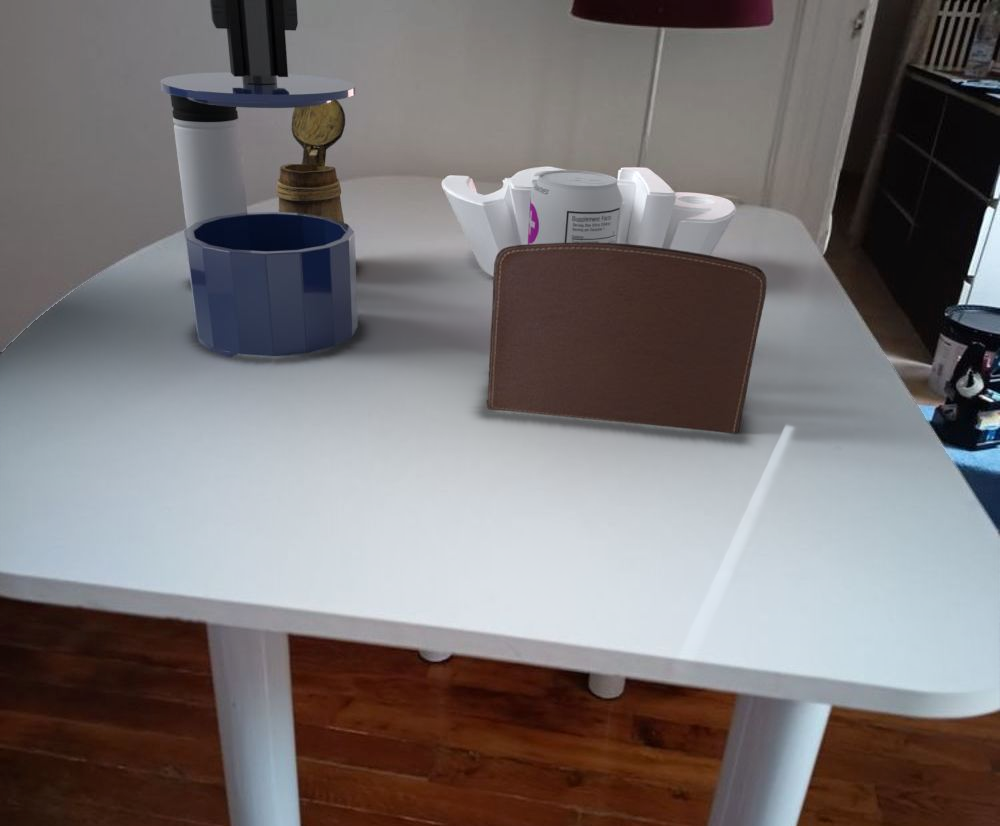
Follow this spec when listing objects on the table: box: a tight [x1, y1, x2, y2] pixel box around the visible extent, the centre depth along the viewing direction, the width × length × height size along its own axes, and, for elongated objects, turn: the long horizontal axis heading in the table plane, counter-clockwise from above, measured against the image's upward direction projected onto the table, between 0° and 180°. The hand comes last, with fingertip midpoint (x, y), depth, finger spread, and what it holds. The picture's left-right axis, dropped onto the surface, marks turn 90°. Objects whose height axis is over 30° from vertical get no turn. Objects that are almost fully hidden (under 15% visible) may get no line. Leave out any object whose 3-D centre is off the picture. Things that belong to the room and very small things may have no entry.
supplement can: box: [528, 169, 623, 244], centre depth 85 cm, size 8×8×15 cm
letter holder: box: [486, 242, 768, 435], centre depth 72 cm, size 10×20×14 cm, turn 82°
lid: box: [159, 0, 357, 109], centre depth 74 cm, size 16×16×8 cm
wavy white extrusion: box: [441, 166, 737, 277], centre depth 107 cm, size 35×16×11 cm, turn 88°
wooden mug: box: [275, 100, 346, 223], centre depth 102 cm, size 9×14×18 cm, turn 178°
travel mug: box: [169, 94, 248, 229], centre depth 93 cm, size 6×7×20 cm
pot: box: [183, 211, 359, 358], centre depth 84 cm, size 15×15×10 cm
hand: (259, 74), depth 75 cm, fingers closed on lid, 3 cm apart
